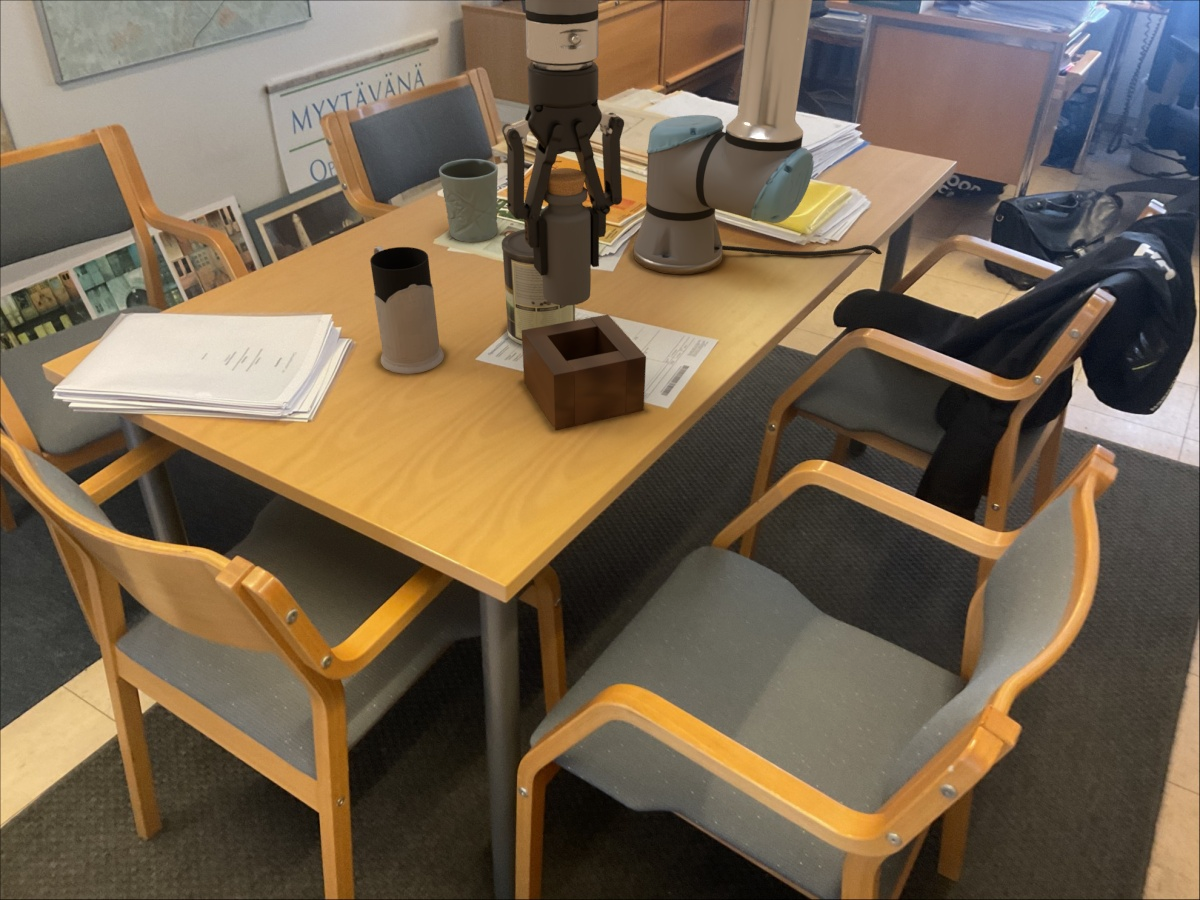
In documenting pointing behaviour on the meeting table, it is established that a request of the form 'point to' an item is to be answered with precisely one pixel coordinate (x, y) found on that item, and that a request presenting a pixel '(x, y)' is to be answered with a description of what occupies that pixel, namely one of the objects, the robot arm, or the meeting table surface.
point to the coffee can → (527, 290)
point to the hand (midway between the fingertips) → (566, 266)
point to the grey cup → (470, 198)
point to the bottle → (567, 238)
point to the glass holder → (405, 310)
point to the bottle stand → (583, 371)
